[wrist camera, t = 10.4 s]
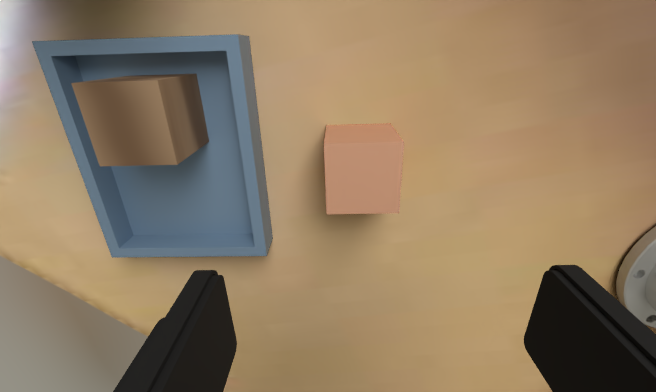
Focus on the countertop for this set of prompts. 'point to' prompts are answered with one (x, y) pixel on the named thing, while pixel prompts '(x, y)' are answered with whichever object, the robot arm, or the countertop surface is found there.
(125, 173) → the tray
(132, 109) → the walnut block
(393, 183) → the terracotta block
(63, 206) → the countertop surface
